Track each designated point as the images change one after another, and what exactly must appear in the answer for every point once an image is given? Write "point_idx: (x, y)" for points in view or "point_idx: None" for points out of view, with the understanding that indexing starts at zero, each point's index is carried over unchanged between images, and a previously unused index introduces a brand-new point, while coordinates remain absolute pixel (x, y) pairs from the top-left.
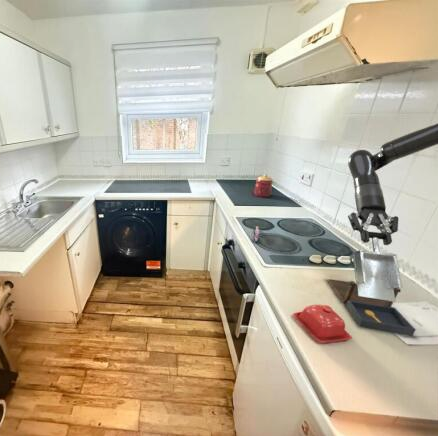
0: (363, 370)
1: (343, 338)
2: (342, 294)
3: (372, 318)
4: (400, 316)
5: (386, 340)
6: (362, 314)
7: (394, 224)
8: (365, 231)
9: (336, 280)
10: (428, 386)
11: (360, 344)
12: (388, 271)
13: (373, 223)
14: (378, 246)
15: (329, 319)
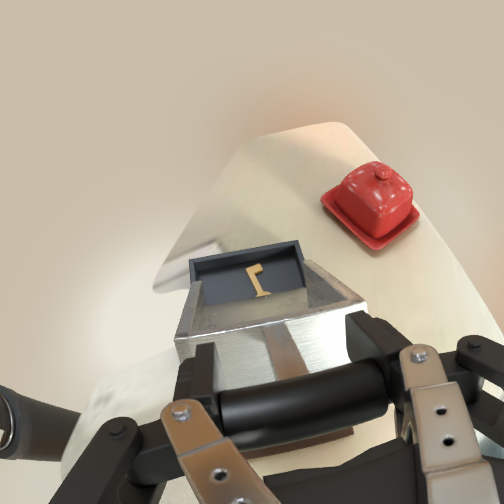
0: (307, 162)
1: (334, 191)
2: None
3: (262, 286)
4: None
5: (252, 234)
6: (282, 291)
7: (97, 484)
8: (401, 349)
9: (329, 439)
10: (226, 172)
11: (303, 204)
12: None
13: (355, 464)
14: (269, 345)
15: (372, 165)
